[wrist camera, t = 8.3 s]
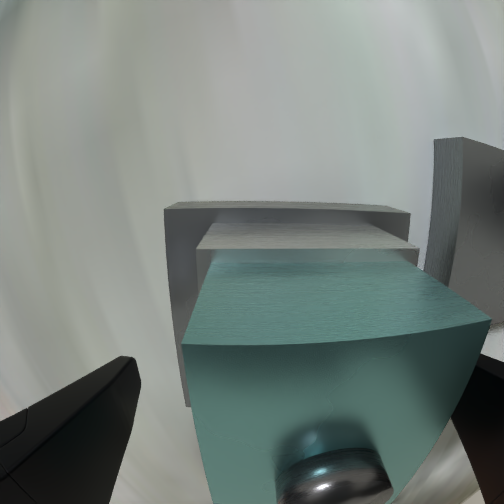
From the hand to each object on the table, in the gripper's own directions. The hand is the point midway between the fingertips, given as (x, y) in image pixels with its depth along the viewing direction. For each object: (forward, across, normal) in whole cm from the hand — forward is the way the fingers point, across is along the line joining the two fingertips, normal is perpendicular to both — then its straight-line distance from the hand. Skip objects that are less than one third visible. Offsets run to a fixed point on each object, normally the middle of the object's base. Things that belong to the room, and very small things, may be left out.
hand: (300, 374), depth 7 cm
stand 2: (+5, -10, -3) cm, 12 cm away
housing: (+3, 0, 0) cm, 3 cm away
